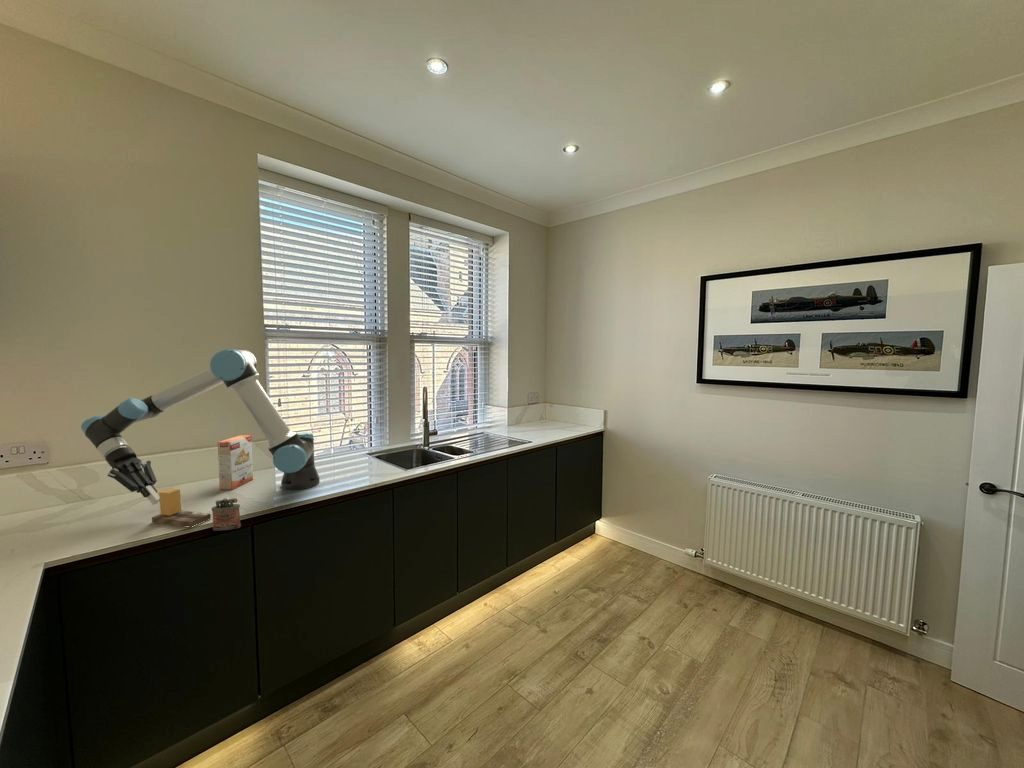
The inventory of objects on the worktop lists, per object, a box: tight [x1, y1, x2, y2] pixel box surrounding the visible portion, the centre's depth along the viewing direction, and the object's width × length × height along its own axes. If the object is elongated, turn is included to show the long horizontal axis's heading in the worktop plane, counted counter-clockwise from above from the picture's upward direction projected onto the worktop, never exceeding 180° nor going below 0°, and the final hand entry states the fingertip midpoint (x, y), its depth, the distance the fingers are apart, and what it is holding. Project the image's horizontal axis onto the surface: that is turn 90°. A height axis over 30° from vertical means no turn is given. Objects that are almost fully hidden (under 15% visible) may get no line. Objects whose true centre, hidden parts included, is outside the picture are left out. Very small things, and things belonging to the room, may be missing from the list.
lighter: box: [211, 497, 242, 531], centre depth 137 cm, size 8×3×10 cm, turn 105°
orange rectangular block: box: [158, 488, 182, 516], centre depth 143 cm, size 4×4×8 cm
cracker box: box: [217, 434, 254, 491], centre depth 180 cm, size 14×6×21 cm, turn 179°
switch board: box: [151, 509, 212, 528], centre depth 143 cm, size 17×7×2 cm, turn 77°
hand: (157, 501), depth 145 cm, fingers closed
